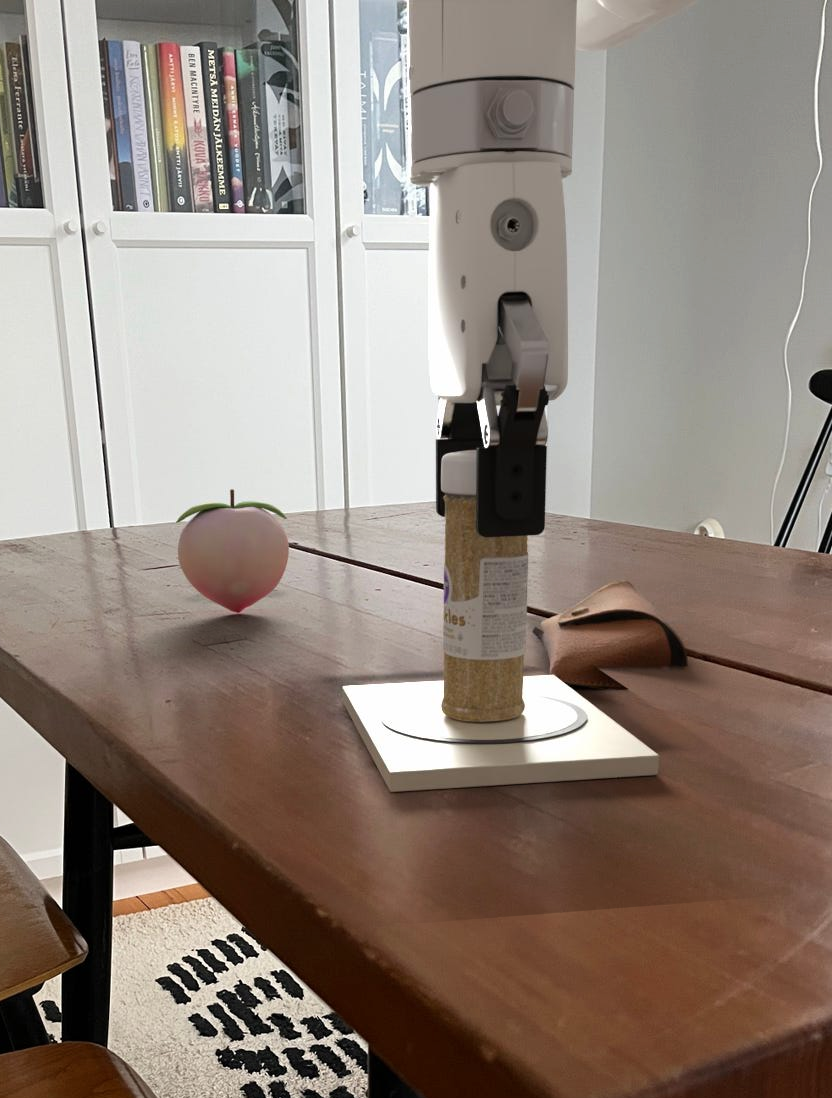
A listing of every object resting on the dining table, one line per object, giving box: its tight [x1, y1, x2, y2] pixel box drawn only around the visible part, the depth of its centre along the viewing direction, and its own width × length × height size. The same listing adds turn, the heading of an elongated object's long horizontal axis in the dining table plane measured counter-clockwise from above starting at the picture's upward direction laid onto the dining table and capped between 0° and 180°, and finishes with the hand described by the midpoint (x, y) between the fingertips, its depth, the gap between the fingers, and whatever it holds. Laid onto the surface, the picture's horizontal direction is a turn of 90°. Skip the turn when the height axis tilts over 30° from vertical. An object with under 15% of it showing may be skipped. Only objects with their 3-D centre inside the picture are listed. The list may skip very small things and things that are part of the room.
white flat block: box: [341, 674, 660, 793], centre depth 68 cm, size 13×18×1 cm
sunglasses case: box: [532, 579, 689, 690], centre depth 84 cm, size 18×7×7 cm
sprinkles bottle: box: [441, 450, 529, 722], centre depth 65 cm, size 5×5×14 cm
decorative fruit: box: [176, 488, 290, 614], centre depth 104 cm, size 9×8×10 cm
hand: (486, 524), depth 64 cm, fingers open, 9 cm apart
